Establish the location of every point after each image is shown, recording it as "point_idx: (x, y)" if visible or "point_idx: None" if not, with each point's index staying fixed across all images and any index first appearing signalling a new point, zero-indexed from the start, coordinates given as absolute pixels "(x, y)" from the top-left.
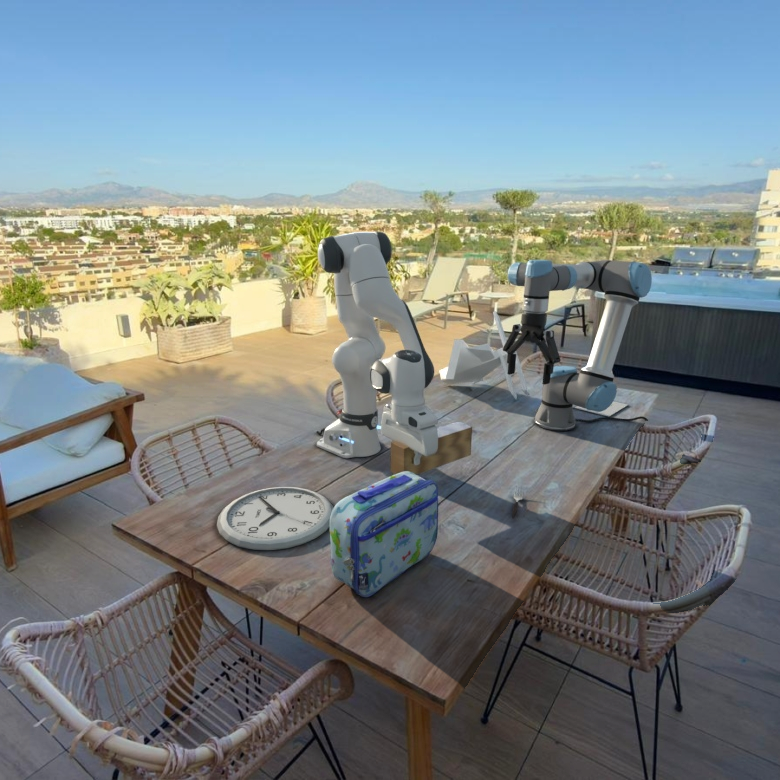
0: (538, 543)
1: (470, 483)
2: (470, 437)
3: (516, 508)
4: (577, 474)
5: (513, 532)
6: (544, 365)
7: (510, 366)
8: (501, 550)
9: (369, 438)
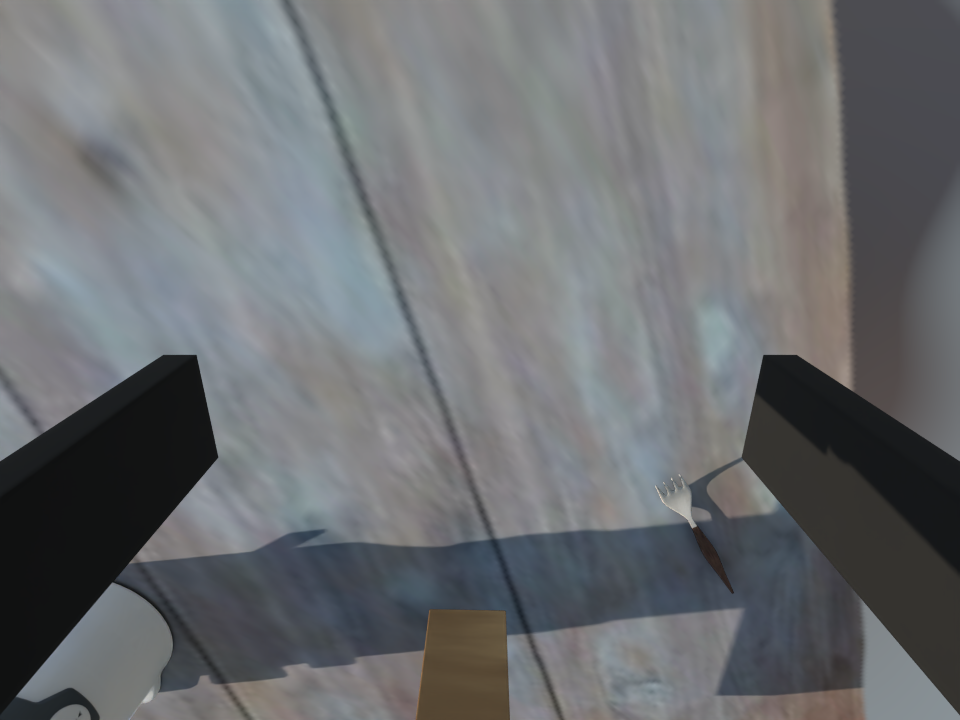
0: (831, 610)
1: (509, 531)
2: (508, 688)
3: (717, 557)
4: (748, 160)
5: (760, 619)
6: (935, 679)
7: (152, 522)
8: (775, 679)
9: (124, 690)
